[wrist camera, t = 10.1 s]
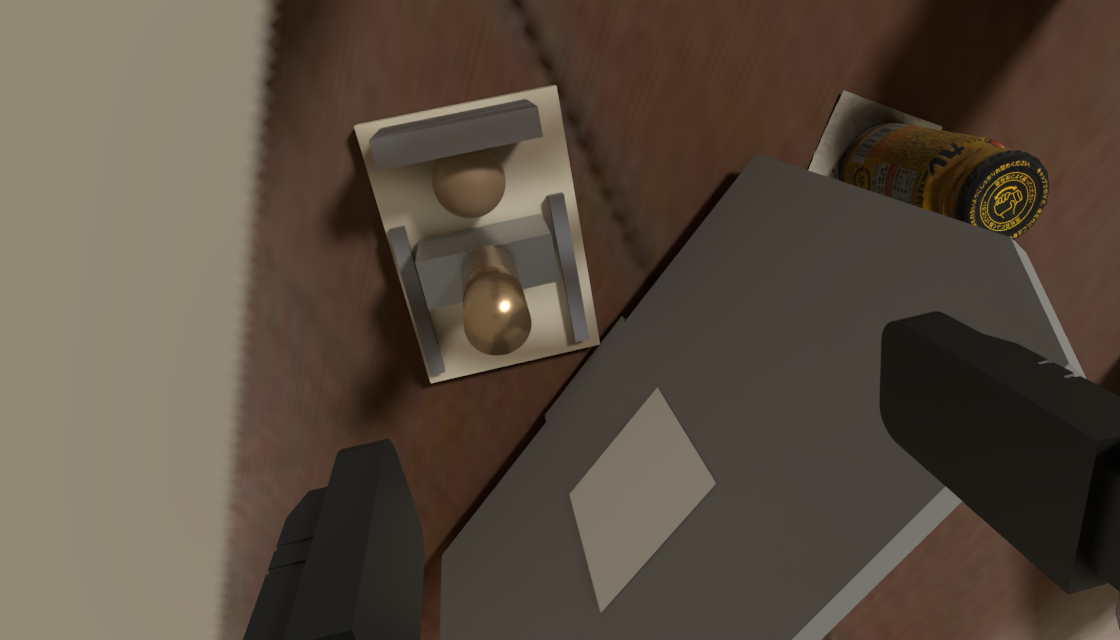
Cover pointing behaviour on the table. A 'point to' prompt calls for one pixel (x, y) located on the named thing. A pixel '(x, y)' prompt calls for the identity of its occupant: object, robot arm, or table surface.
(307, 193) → the table surface
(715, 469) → the laptop
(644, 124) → the table surface
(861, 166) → the condiment
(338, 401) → the table surface
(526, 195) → the peg and ball tray
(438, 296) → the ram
